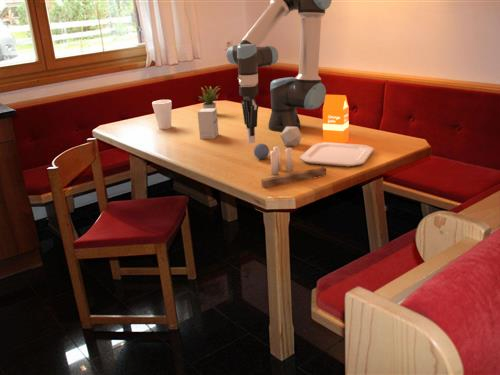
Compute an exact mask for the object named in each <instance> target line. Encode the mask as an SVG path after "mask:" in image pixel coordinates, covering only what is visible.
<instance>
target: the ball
mask: <svg viewBox="0 0 500 375" xmlns="http://www.w3.org/2000/svg"><path fill="white" fill-rule="evenodd" d="M269 148H270V147H268V146H267V145H266V144H265V143H258V144H256V145H255V146H254V149H253V154H254V156H255V157H256V158H257V159H259V160H264V159H266V158H268V156H269V153H270V149H269Z"/></svg>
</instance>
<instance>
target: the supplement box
mask: <svg viewBox="0 0 500 375" xmlns="http://www.w3.org/2000/svg"><path fill="white" fill-rule="evenodd" d="M217 111H218V109H217V107H216V108H206V109H204V108H201V109H199V110H198V111H197V121H198V131H199V139H204V140H205V139H206V140H207V139H208V140H209V139H211V140H215V139H216V137H218V135H219V122H218V112H217Z"/></svg>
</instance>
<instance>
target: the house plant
mask: <svg viewBox="0 0 500 375" xmlns="http://www.w3.org/2000/svg"><path fill="white" fill-rule="evenodd" d="M204 87H205V88H206V90H205V89H204ZM204 87H200V88H201V90H202V96H198V98H200V99H198V101H202V102H203V103H202V106H203V108H202V109H206V108H217V107H216V106H217V105H216V104H217V102H214V101H217V99H219V98H218V96H219V95H220V93H219V94H216V93H217V92H218V91H219V90H220V89H221V88H219V87H220V85H218V86H216V87H214V89H213V88H212V86H209V87H207V86H206V85H204ZM208 88H209V89H208ZM206 91H207V92H206Z"/></svg>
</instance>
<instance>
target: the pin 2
mask: <svg viewBox="0 0 500 375" xmlns="http://www.w3.org/2000/svg"><path fill="white" fill-rule="evenodd" d="M293 159H294V158H293V148H292V147H286V148H285V166H286V167H285V168H286V172H287V173H293V171H294V164H293V161H294V160H293Z"/></svg>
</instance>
